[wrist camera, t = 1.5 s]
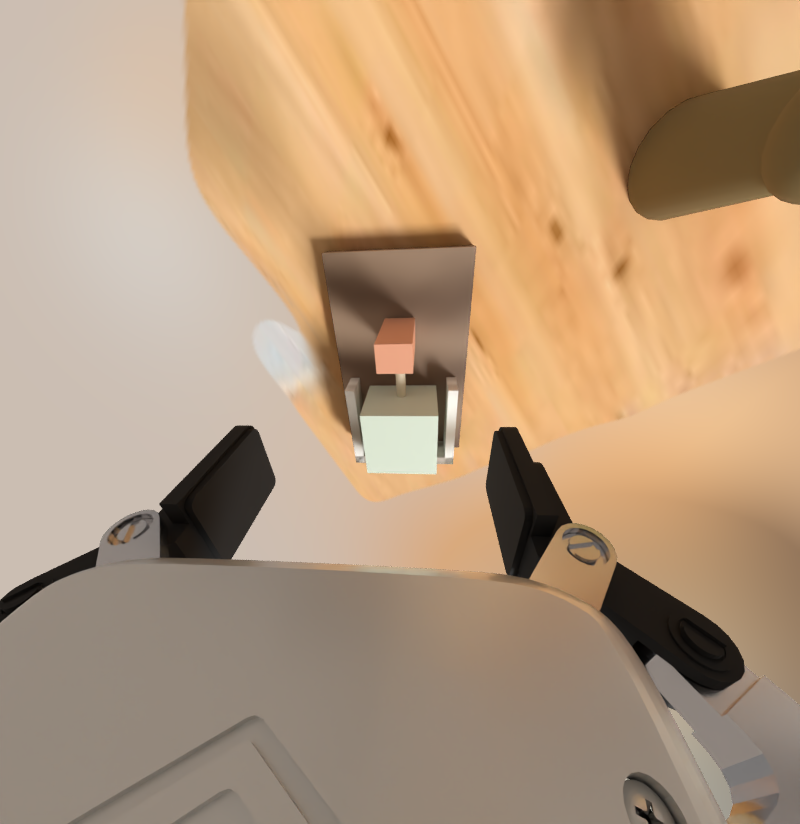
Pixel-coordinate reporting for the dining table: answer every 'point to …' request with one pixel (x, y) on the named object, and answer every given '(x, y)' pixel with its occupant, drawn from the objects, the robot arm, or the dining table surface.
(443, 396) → the shelf
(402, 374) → the joined block piece
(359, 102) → the dining table surface
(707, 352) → the dining table surface
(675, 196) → the cork
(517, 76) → the dining table surface
